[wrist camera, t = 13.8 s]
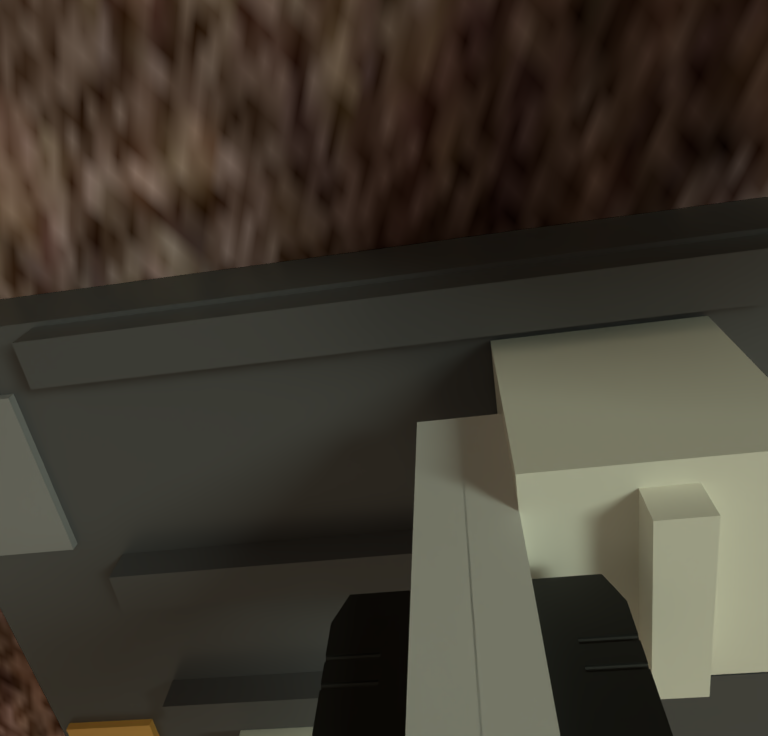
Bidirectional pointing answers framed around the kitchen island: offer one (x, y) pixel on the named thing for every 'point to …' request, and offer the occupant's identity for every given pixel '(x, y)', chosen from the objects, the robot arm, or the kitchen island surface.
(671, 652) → the white slider knob
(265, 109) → the kitchen island surface
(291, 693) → the switch bank
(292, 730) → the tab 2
